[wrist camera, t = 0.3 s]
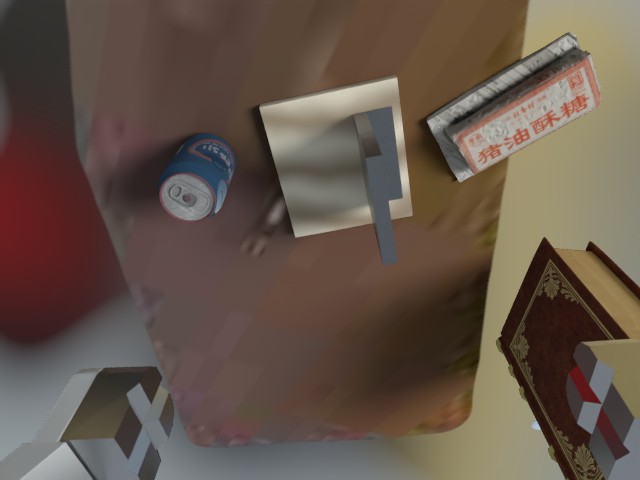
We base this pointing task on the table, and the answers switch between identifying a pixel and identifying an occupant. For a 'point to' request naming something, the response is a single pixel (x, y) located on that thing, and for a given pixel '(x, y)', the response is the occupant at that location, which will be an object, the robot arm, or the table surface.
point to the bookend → (380, 173)
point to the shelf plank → (330, 154)
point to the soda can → (197, 178)
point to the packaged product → (517, 107)
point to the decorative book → (565, 339)
